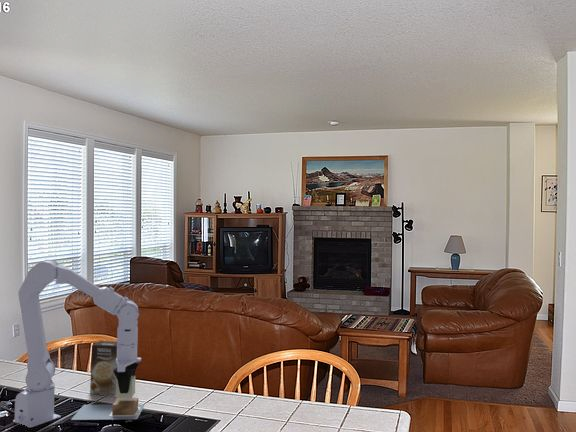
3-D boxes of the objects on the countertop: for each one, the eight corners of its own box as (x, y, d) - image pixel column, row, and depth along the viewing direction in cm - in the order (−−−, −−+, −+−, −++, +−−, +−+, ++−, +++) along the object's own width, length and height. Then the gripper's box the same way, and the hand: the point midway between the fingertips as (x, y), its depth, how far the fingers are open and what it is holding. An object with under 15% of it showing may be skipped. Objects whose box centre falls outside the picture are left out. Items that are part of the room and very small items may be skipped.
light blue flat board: (70, 421, 144) (70, 419, 144) (83, 406, 156) (83, 404, 156) (136, 420, 146) (137, 418, 146) (145, 405, 158) (145, 404, 158)
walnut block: (112, 415, 148) (112, 404, 148) (117, 408, 154) (117, 397, 154) (133, 415, 149) (134, 404, 149) (138, 407, 155) (138, 397, 155)
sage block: (115, 397, 149) (116, 380, 149) (119, 392, 154) (119, 375, 154) (131, 397, 149) (132, 380, 150) (135, 392, 154) (135, 375, 154)
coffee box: (88, 395, 166) (90, 344, 166) (98, 389, 173) (99, 340, 173) (116, 396, 165) (117, 346, 166) (124, 390, 172) (126, 341, 172)
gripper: (136, 349, 145) (134, 398, 145) (146, 337, 159) (144, 382, 159) (110, 349, 144) (108, 398, 144) (122, 337, 159) (121, 382, 158)
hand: (126, 390), depth 152 cm, fingers closed on sage block, 4 cm apart
